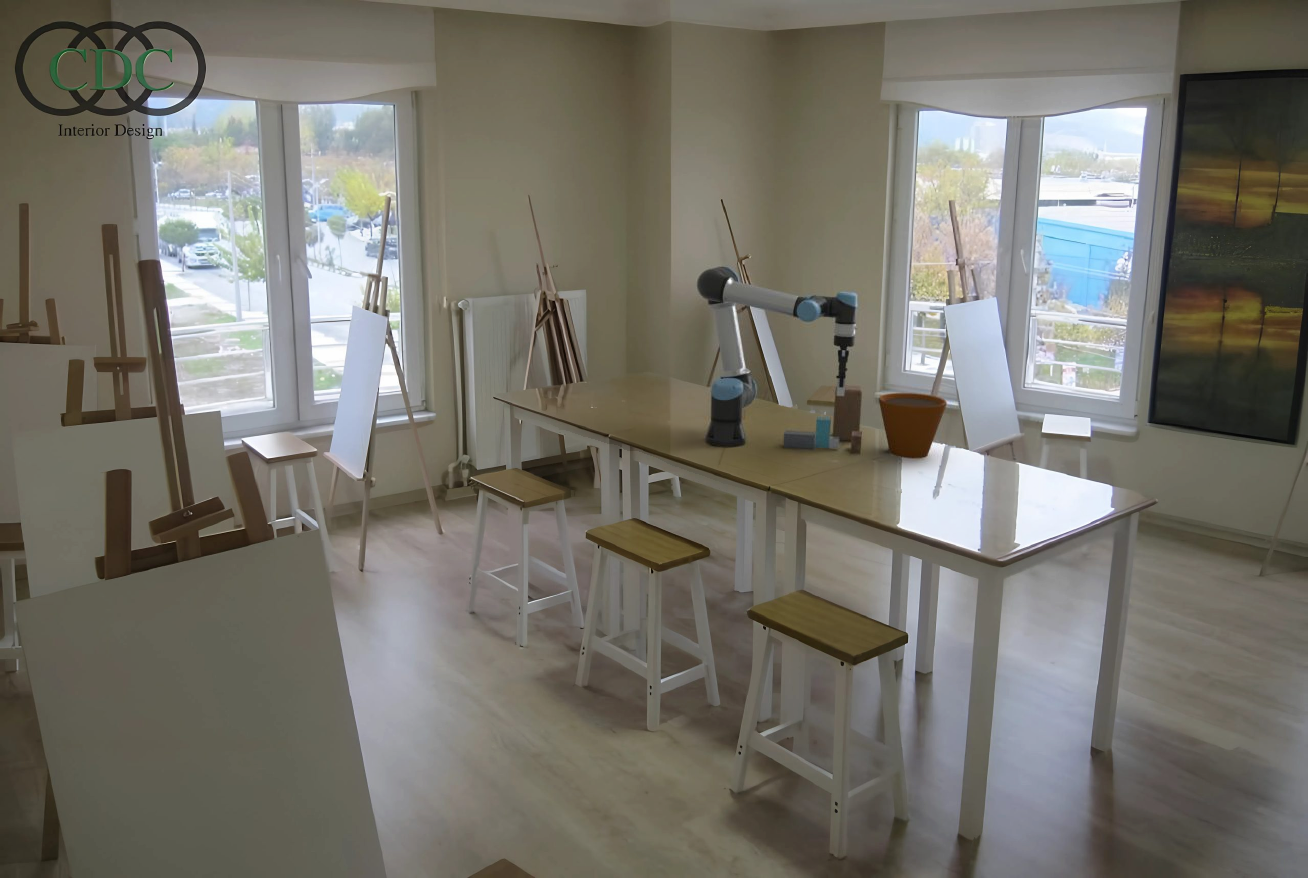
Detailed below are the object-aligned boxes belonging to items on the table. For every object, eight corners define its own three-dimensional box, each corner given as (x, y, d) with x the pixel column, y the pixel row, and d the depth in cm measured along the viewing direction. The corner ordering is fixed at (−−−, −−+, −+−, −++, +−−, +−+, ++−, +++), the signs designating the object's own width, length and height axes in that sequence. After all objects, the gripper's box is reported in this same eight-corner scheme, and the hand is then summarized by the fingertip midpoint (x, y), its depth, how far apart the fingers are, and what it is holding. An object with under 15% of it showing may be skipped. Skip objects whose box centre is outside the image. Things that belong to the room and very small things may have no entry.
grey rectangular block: (783, 447, 387) (784, 433, 385) (784, 444, 392) (785, 430, 391) (813, 449, 384) (814, 435, 383) (814, 446, 390) (815, 431, 388)
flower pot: (953, 460, 373) (958, 405, 368) (889, 462, 369) (893, 407, 364) (925, 444, 396) (930, 392, 391) (865, 445, 392) (869, 393, 387)
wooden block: (858, 442, 397) (862, 390, 392) (832, 440, 399) (835, 388, 394) (859, 435, 407) (862, 385, 402) (833, 434, 409) (836, 384, 404)
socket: (850, 453, 381) (851, 435, 379) (851, 447, 388) (852, 430, 387) (860, 454, 380) (861, 436, 378) (860, 448, 387) (862, 431, 386)
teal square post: (786, 445, 387) (787, 417, 384) (787, 442, 391) (788, 415, 388) (838, 448, 383) (840, 420, 380) (838, 445, 387) (840, 418, 385)
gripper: (855, 340, 368) (850, 399, 373) (854, 330, 392) (850, 386, 397) (833, 339, 369) (829, 398, 375) (834, 329, 393) (830, 385, 398)
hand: (840, 392), depth 386 cm, fingers open, 13 cm apart
